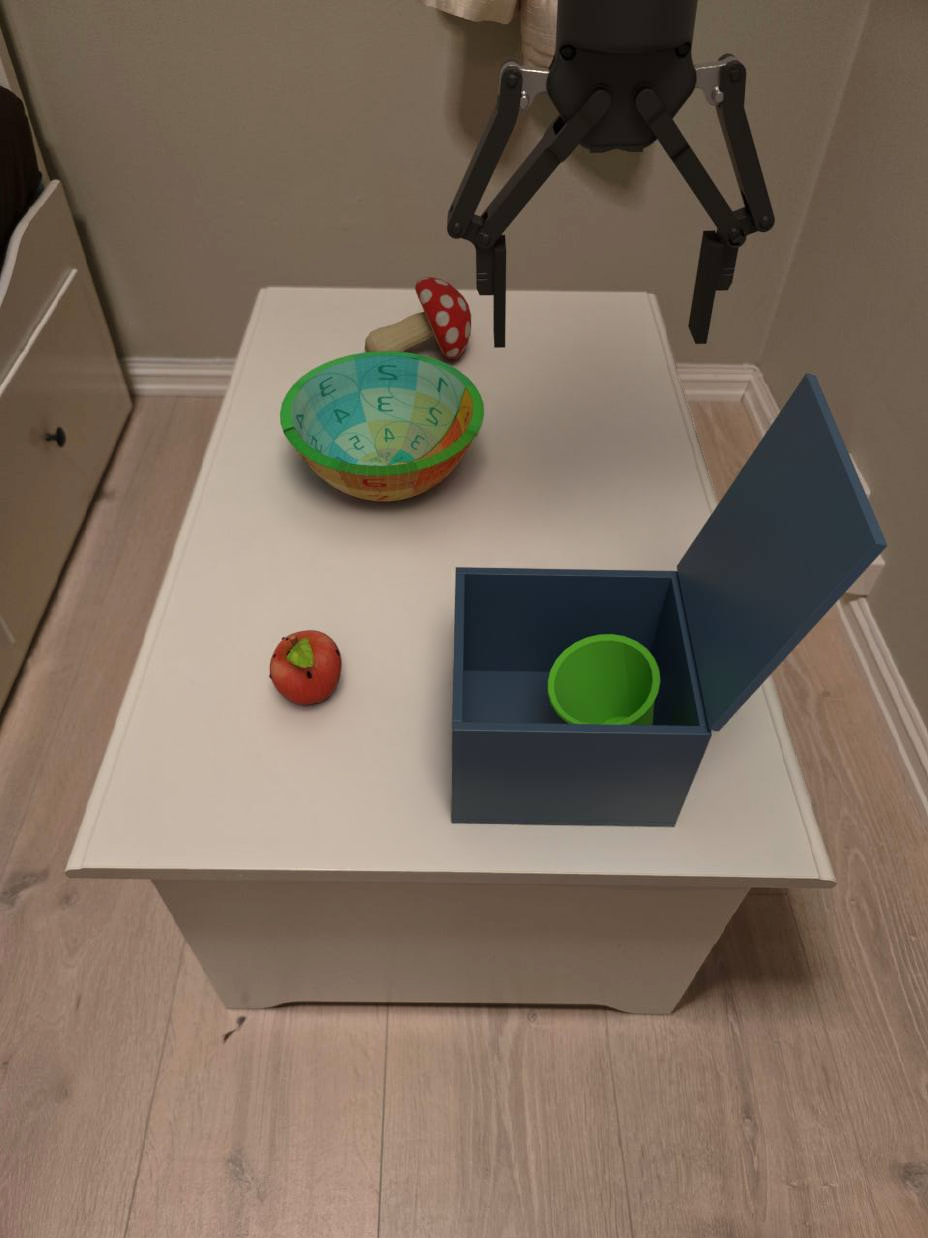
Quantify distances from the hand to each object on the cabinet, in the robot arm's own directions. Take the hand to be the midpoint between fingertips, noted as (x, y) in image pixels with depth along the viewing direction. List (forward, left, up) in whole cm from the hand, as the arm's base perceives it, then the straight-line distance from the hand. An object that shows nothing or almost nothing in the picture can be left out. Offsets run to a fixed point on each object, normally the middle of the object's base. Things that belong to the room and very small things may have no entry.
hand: (597, 337), depth 61 cm
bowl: (+27, -17, -35) cm, 48 cm away
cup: (-10, +8, -34) cm, 36 cm away
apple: (+19, +14, -35) cm, 43 cm away
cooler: (-4, +9, -35) cm, 37 cm away
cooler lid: (-15, +5, -11) cm, 19 cm away
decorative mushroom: (+35, -42, -35) cm, 65 cm away
